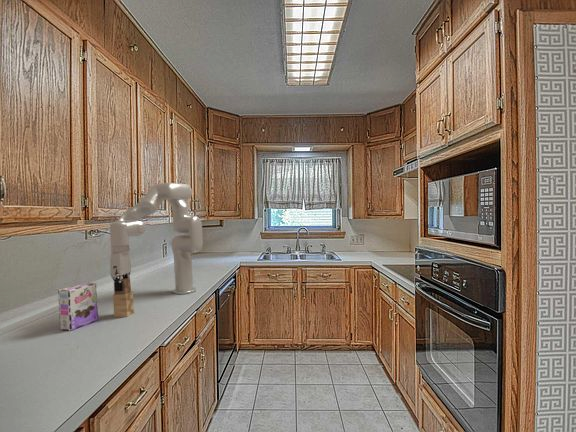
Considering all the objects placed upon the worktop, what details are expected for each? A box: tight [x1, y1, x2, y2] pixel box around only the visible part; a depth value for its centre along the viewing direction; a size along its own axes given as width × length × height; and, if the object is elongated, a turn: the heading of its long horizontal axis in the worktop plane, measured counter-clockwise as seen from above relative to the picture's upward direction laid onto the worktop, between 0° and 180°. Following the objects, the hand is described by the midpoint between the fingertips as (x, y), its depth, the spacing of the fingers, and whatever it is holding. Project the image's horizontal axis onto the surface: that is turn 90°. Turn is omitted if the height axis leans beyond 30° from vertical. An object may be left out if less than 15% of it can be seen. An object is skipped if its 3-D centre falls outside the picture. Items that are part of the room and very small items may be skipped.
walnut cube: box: [113, 277, 132, 295], centre depth 165 cm, size 5×5×6 cm
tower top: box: [112, 290, 134, 307], centre depth 166 cm, size 6×6×5 cm
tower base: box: [113, 302, 135, 318], centre depth 166 cm, size 6×6×5 cm
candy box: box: [57, 282, 99, 332], centre depth 153 cm, size 14×6×16 cm, turn 161°
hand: (122, 289), depth 165 cm, fingers open, 5 cm apart
